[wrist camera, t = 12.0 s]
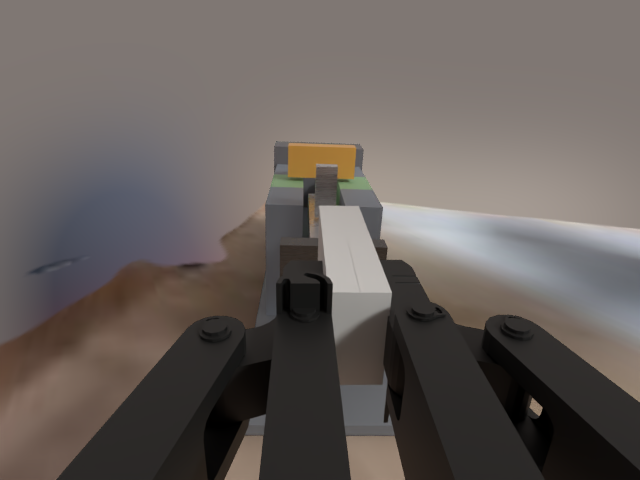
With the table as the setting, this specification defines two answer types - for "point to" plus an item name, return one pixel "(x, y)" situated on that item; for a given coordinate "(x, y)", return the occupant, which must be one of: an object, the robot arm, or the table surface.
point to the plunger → (317, 220)
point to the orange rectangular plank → (320, 159)
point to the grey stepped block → (292, 221)
